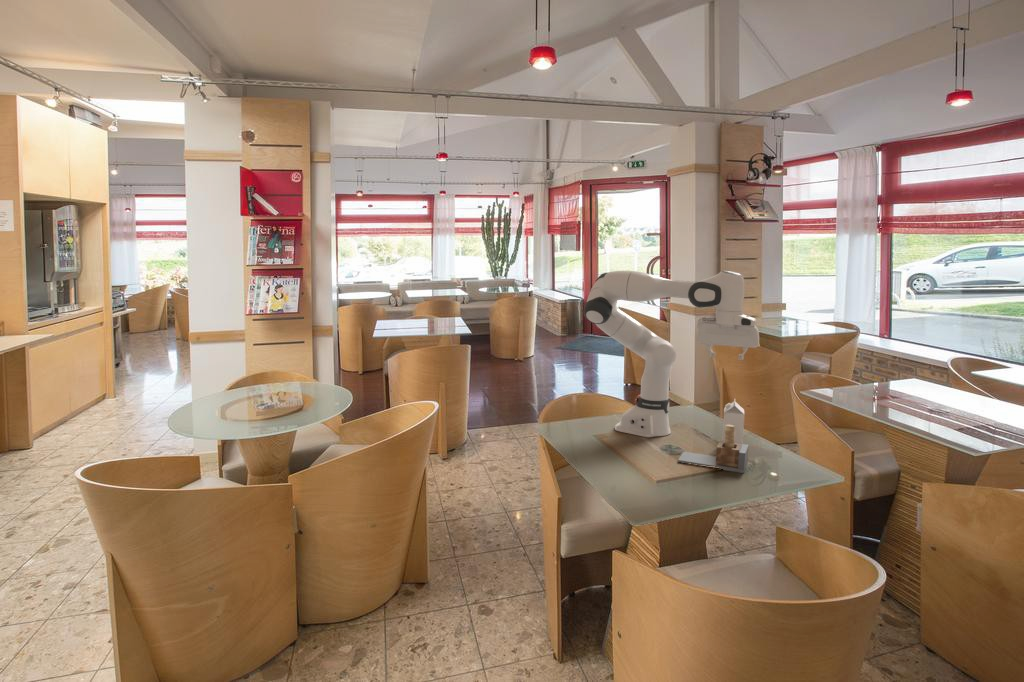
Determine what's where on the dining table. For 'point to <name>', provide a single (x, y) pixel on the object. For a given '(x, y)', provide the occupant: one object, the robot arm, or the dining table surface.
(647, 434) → the robot arm
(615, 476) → the dining table surface
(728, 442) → the dowel
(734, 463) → the block
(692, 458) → the grey l-shaped piece
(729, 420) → the milk carton
